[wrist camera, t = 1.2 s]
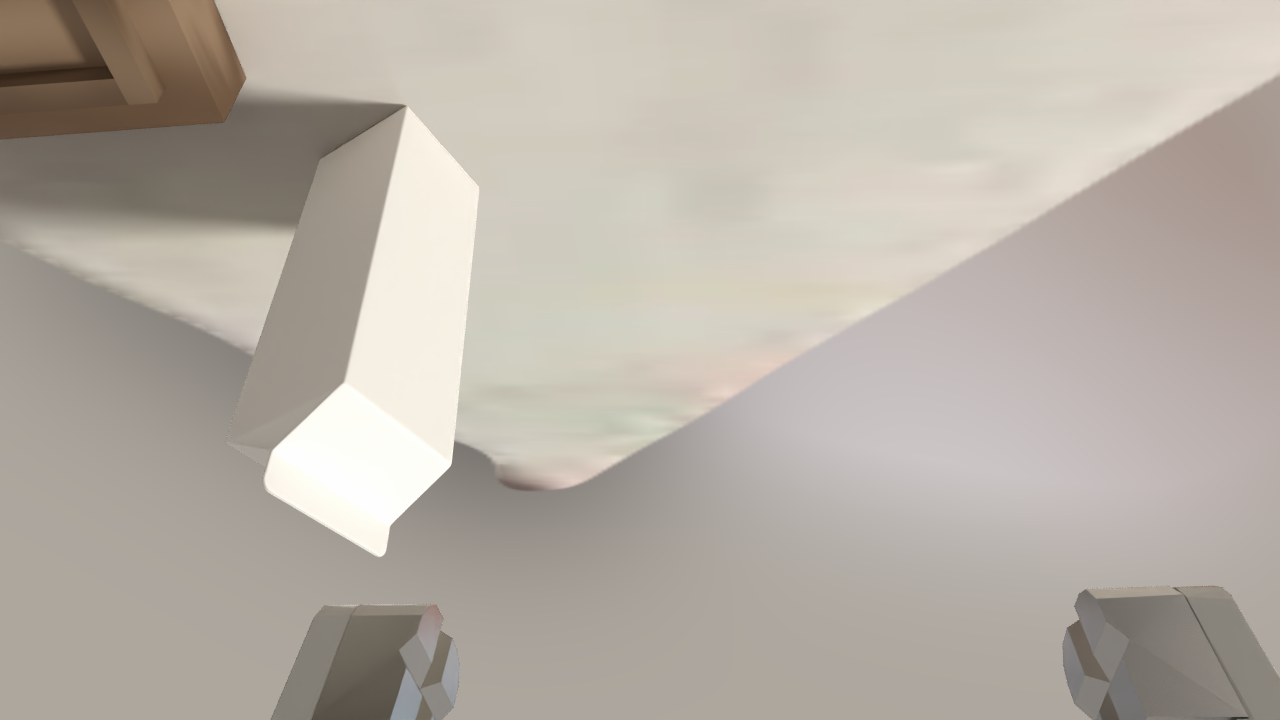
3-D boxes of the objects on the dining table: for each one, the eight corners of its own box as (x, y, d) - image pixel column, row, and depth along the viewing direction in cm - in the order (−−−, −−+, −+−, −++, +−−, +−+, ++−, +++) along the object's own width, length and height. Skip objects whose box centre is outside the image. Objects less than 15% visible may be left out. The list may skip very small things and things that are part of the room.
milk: (407, 103, 42) (328, 451, 27) (481, 188, 46) (449, 533, 31) (317, 159, 44) (196, 514, 29) (396, 236, 48) (326, 584, 33)
